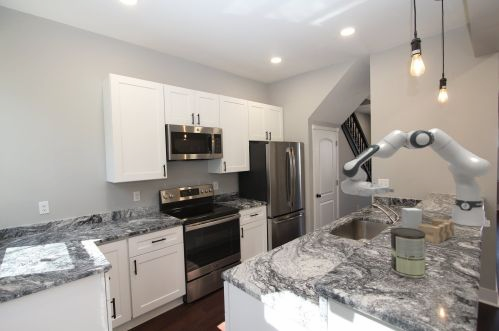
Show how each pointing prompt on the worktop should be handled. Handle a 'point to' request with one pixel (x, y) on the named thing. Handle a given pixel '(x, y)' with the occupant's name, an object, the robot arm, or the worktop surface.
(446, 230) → the oak rack
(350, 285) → the worktop surface
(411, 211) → the supplement box
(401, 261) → the coffee can
